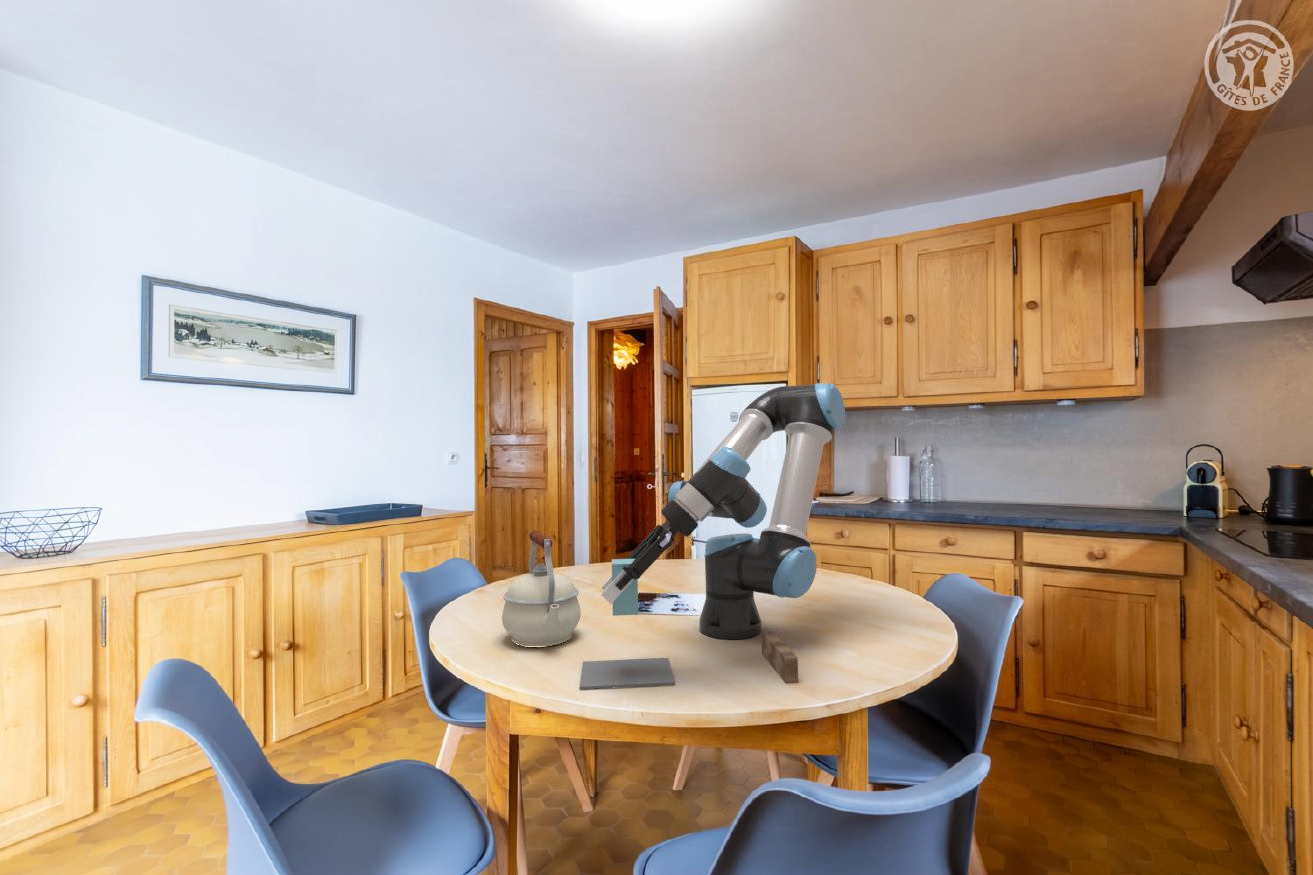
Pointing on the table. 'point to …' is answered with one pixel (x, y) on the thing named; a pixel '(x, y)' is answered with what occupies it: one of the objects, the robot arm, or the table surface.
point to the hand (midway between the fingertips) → (606, 595)
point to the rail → (780, 657)
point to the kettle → (541, 602)
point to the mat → (626, 673)
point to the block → (625, 591)
